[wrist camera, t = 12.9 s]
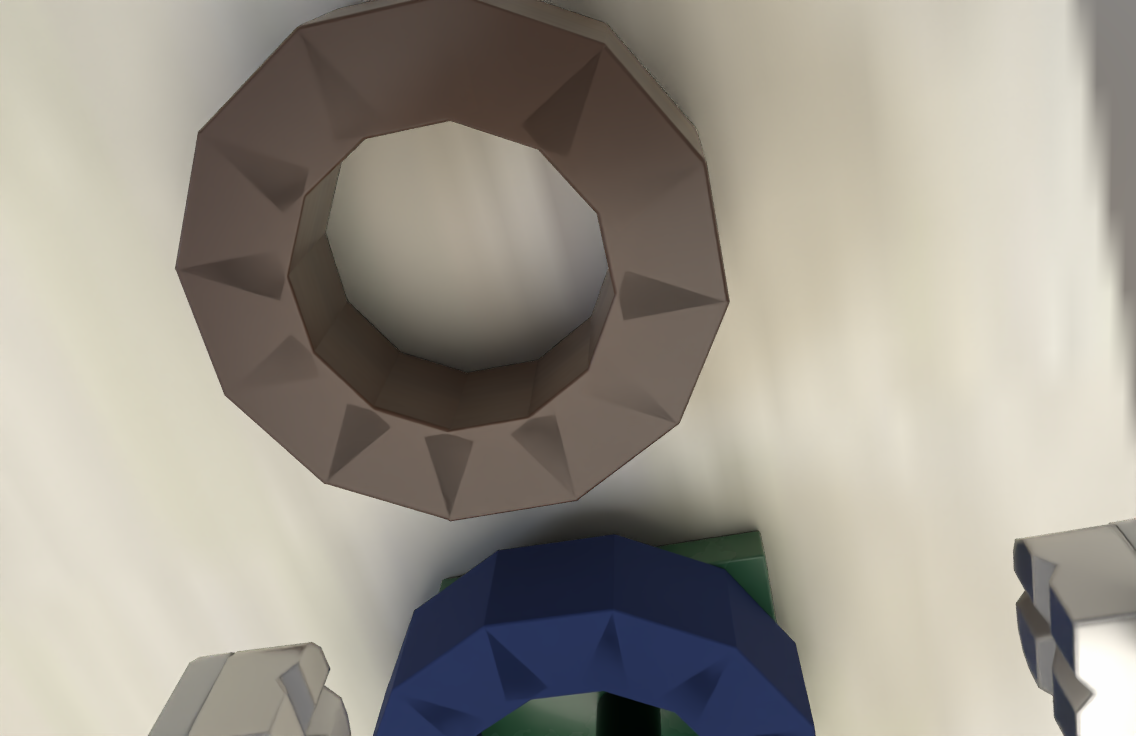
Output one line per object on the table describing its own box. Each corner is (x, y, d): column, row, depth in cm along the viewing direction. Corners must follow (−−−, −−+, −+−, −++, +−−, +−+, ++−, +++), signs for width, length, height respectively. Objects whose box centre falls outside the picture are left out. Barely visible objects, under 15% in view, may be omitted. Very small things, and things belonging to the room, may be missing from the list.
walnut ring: (160, 49, 24) (97, 71, 21) (664, -67, 22) (670, -60, 20) (317, 481, 29) (283, 549, 26) (743, 409, 27) (758, 471, 24)
